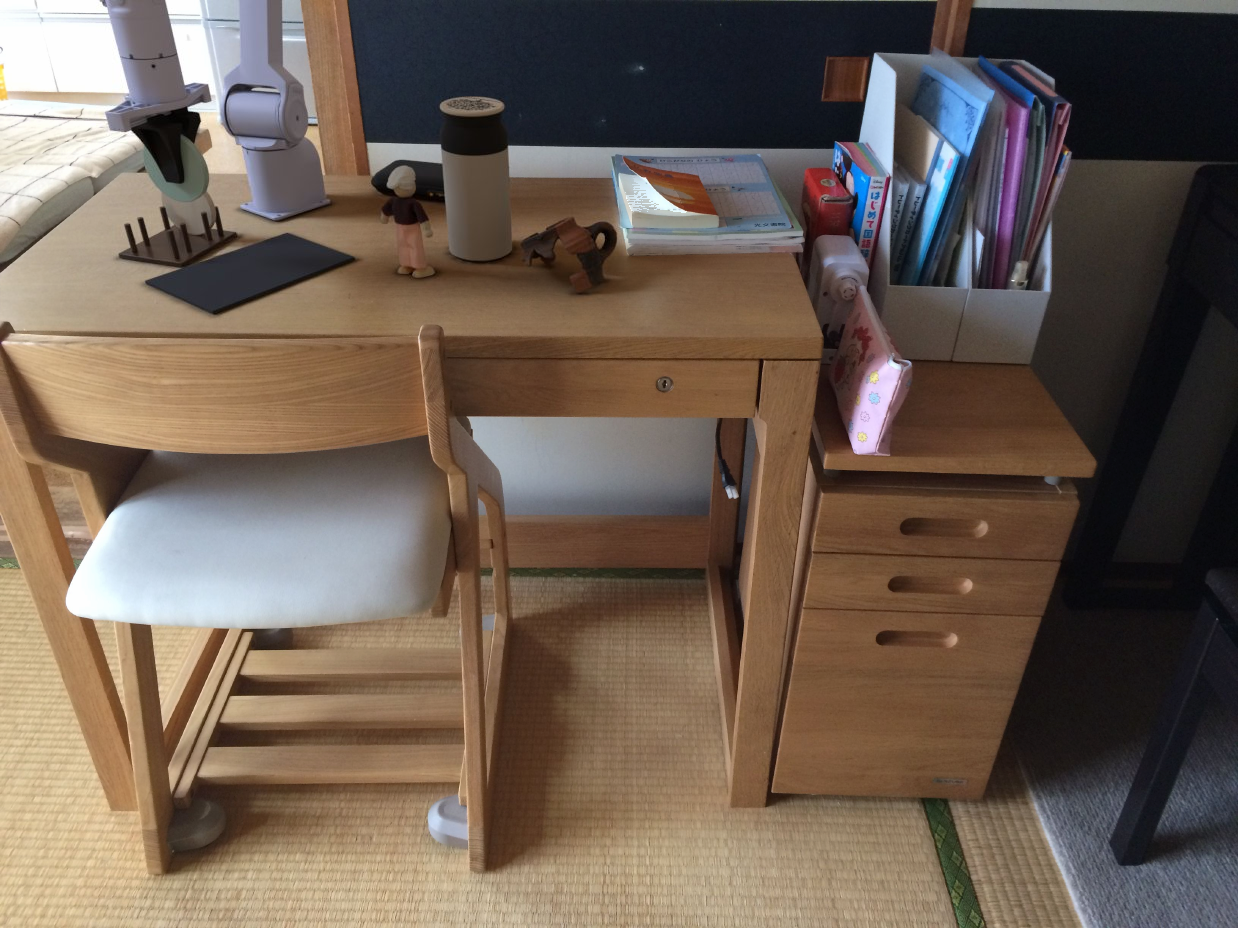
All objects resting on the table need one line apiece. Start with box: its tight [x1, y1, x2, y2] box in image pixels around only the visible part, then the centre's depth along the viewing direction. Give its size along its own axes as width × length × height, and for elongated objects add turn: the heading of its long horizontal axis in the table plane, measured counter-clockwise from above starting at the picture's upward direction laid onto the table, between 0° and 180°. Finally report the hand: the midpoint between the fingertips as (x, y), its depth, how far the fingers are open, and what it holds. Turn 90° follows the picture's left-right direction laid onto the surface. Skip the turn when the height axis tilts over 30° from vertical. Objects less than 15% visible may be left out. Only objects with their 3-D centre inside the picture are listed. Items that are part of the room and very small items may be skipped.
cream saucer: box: [160, 190, 216, 235], centre depth 117 cm, size 1×7×7 cm, turn 75°
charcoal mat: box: [144, 232, 356, 315], centre depth 111 cm, size 20×13×1 cm, turn 144°
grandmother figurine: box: [379, 166, 435, 279], centre depth 109 cm, size 8×4×13 cm, turn 71°
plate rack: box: [118, 205, 238, 268], centre depth 116 cm, size 11×9×4 cm
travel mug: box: [439, 96, 513, 262], centre depth 113 cm, size 8×8×18 cm
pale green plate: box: [142, 134, 210, 202], centre depth 107 cm, size 1×8×8 cm, turn 73°
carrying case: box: [370, 159, 445, 201], centre depth 136 cm, size 11×3×15 cm
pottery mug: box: [519, 216, 618, 295], centre depth 112 cm, size 12×10×8 cm
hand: (179, 180), depth 108 cm, fingers closed on pale green plate, 1 cm apart
